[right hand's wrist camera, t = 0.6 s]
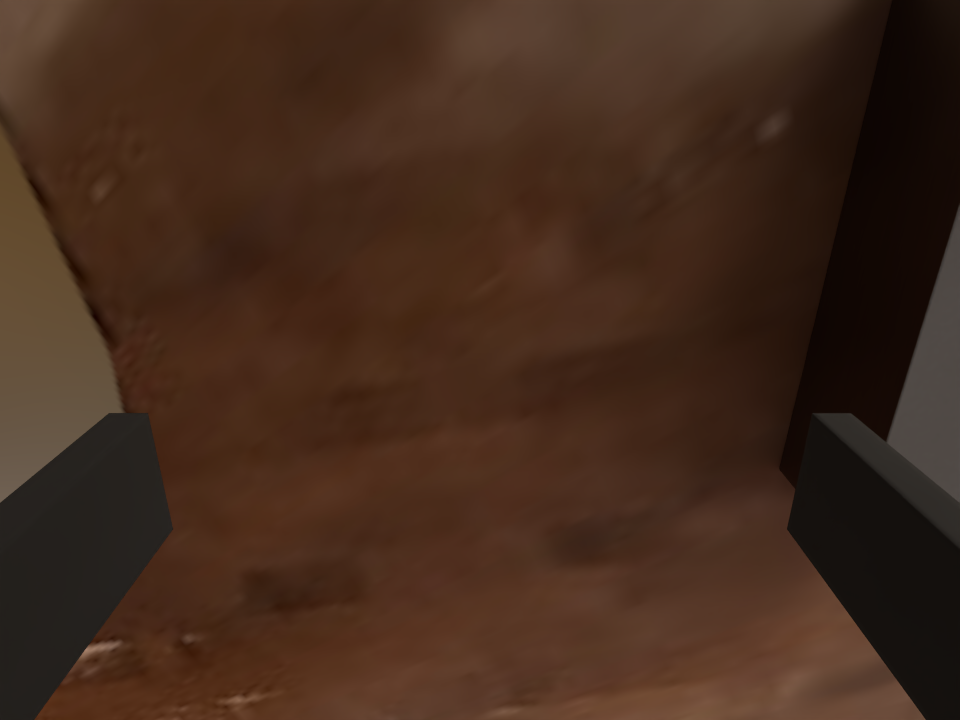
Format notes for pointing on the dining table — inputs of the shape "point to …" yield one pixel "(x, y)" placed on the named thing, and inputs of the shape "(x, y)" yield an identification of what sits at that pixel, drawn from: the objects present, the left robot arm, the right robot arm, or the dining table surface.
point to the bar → (897, 259)
